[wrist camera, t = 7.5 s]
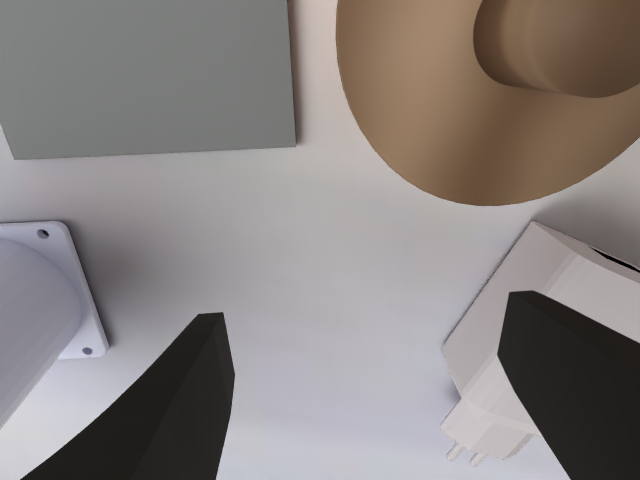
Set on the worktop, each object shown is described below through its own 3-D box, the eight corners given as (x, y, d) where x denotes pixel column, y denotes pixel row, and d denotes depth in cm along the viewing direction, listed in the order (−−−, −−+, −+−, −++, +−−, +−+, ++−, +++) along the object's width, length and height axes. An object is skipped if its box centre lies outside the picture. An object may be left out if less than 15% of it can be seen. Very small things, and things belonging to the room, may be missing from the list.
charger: (387, 410, 25) (524, 214, 20) (502, 443, 27) (656, 273, 22) (405, 482, 21) (587, 259, 15) (539, 514, 23) (744, 326, 17)
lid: (339, 206, 14) (354, 264, 10) (329, -220, 9) (350, -412, 5) (634, 189, 14) (757, 239, 11) (771, -235, 10) (1090, -429, 6)
